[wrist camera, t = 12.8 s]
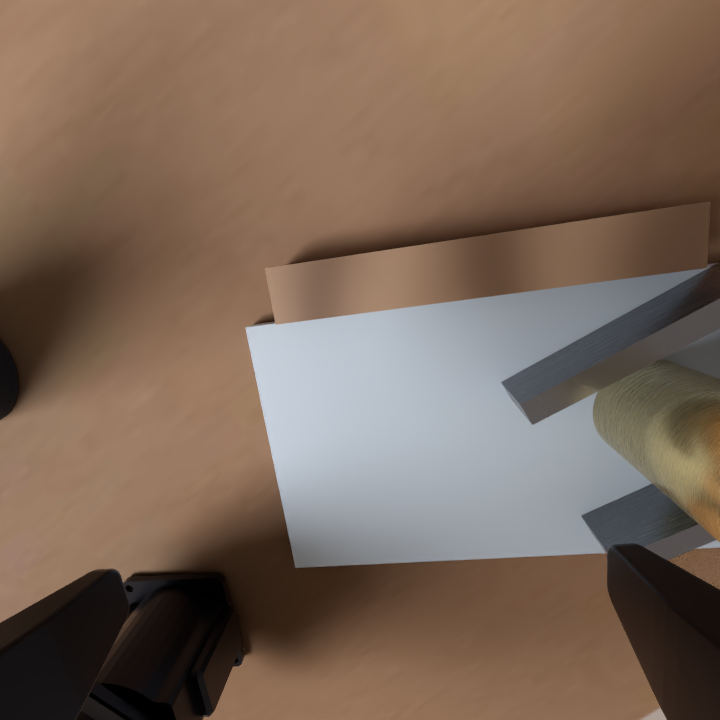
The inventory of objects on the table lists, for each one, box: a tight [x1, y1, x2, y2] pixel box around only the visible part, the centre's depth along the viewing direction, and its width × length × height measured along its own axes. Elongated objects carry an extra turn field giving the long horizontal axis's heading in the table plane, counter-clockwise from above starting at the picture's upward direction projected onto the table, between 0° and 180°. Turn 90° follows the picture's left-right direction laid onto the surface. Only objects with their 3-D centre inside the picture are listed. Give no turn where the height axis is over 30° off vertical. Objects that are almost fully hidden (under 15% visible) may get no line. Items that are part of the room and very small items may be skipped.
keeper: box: [501, 262, 720, 560], centre depth 16 cm, size 10×9×3 cm
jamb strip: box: [265, 201, 711, 325], centre depth 17 cm, size 17×2×2 cm, turn 98°
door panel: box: [245, 263, 720, 568], centre depth 19 cm, size 25×14×1 cm, turn 98°
